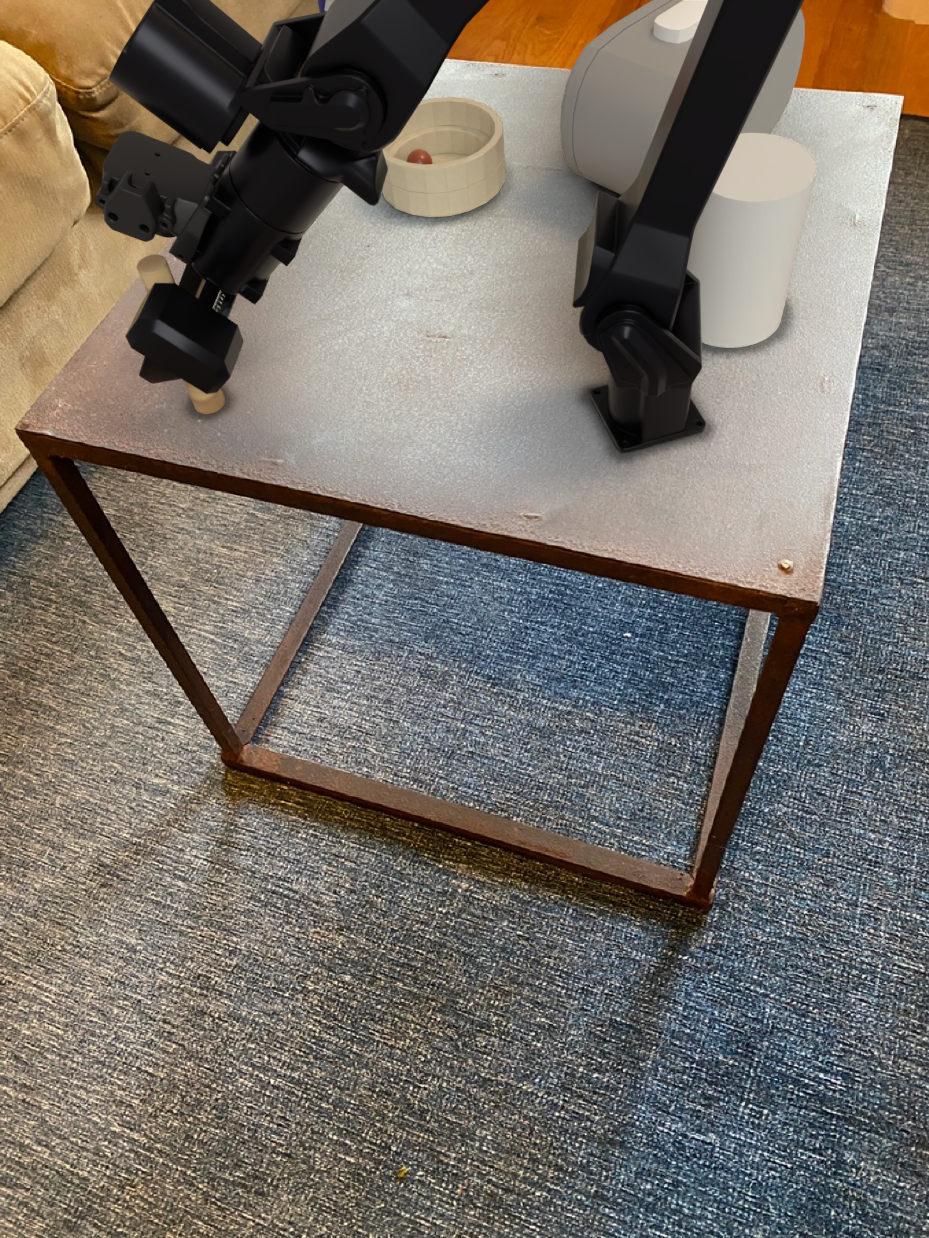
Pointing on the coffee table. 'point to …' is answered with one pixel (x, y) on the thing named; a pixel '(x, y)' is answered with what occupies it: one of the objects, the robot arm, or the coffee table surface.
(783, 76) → the alarm clock
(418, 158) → the bead
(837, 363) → the coffee table surface
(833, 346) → the coffee table surface
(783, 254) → the cup
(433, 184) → the bowl
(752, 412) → the coffee table surface
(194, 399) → the stirring stick
